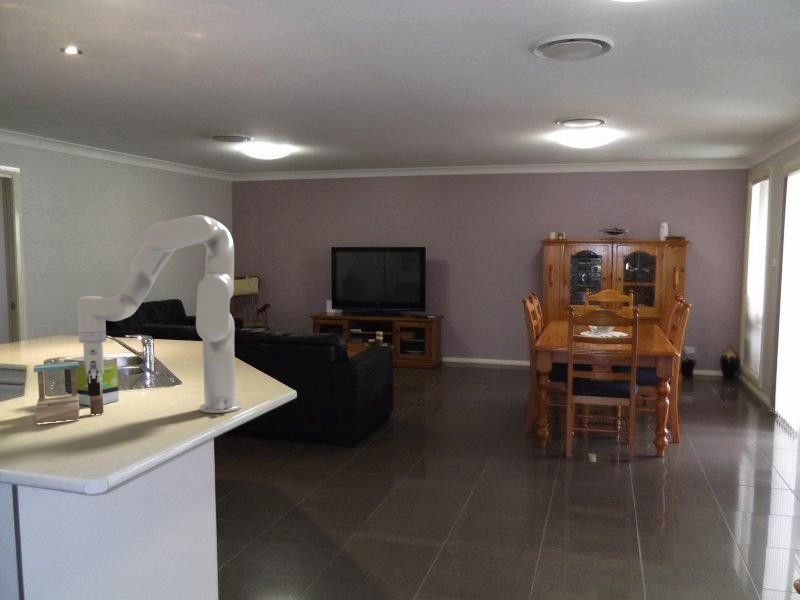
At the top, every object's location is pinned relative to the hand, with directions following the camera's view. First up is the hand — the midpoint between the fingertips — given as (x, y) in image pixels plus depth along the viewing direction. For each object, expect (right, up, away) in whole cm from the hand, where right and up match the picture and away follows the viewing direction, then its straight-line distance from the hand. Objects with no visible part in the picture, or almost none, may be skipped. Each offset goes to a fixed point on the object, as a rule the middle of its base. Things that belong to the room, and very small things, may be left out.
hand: (94, 392), depth 202 cm
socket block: (-10, -7, -2) cm, 12 cm away
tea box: (-9, -6, +18) cm, 21 cm away
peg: (+1, -7, +1) cm, 7 cm away
